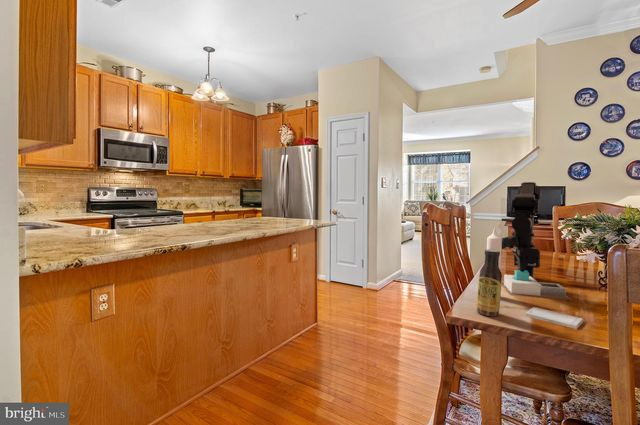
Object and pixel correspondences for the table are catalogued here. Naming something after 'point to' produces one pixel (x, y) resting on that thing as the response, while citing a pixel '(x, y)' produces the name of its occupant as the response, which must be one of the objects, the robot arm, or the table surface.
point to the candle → (495, 244)
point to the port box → (522, 285)
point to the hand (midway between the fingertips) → (521, 271)
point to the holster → (552, 289)
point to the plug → (521, 275)
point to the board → (542, 295)
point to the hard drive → (554, 317)
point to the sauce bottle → (489, 285)
